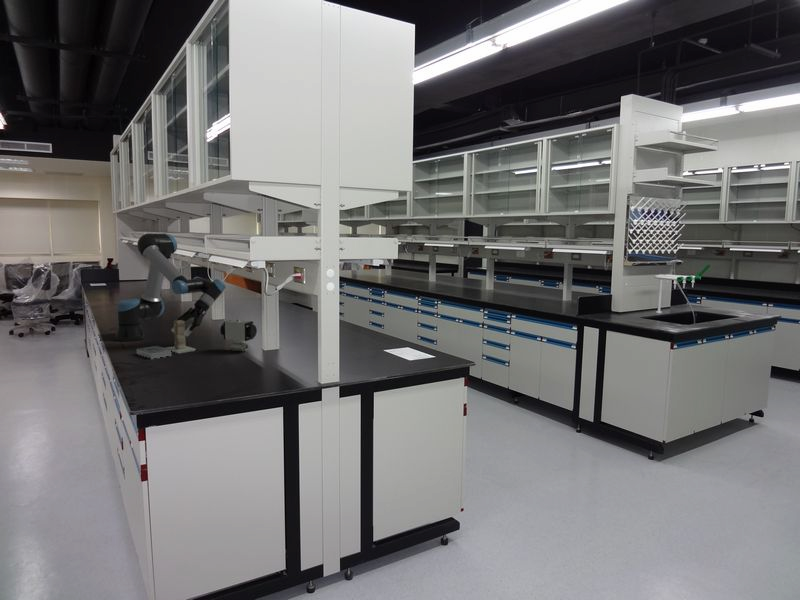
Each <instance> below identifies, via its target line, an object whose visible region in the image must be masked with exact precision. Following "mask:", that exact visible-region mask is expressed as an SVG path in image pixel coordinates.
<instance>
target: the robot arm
mask: <svg viewBox="0 0 800 600" xmlns="http://www.w3.org/2000/svg"><path fill="white" fill-rule="evenodd" d="M136 245H137V250H138V252H139V254H140V255H141V256H142V257H143V258H144V259H146V260H148V261H150V262H149V263H150V264H149V269H148V272H147V273H148V274H147V278H146V283H145V288H144V293H142V294H141V295H140V299H139V298H128V299H127V298H126V299H123V300H120V301H119V302H118V303H117V307H116V309H117V321H118V322H117V323H118V325H117V326H118V327H117V331H116V334H115V340H116V341H117V342H133V341H134V340H135V341H140V339H141V340H144V339H145V333H144V330H143V328H142V325H141V321H142V320H148V319H149V320H150V319H156V318H159V317H160V316H162V315H163V313H164V311H165V303H164V301H163V299H162V297H161V291H162V286H163V283H164V282H163V281H164V277H165V278H166V279H167V280H168V281H169V283H170V284H171V289H172V292H173V293H174V294H175V295H186V294H195V293H202V294H201V295H200V296H199V298H198V299H197V300H196V301H195V303H194V304H193V305H194V307H193V308H192V307H190V308H189V309H188V310H187V311H185V312H184V313H183V314H181V315H180V316H179V317H178V318H177V320H183V321H185V322H187V321H189V320H191V319H192V318H193V320H192V322H191V323H190V324H189V325H188V326H187V328H185V332H184V333H183V334H184V335H185V337H186V338H187V337H188V338H189V336H190V334H191V333H192V332H193V330H194V329H195V328H197V327H200V326H201V324H202V321H203V319H204V317H205V315H206V314H207V311H208V310H209V309H210V308H211V307H212V306H213V305H214V303H215V302H216V300H217V299H218V298H219V297H220V296H221V295H222V294H223V292H224V291H225V289H226V284H225V283H224V282H223V281H222V280H220V279H214V280H213V281H211V280H208V279H206V278H203V277H200V276H194V277H193V278H192V279H187V277H185V276H184V275H183V274H182V273H181V271H180V270H178V269H177V268H176V267H175V265H174V264H173V263H172V262H171V261H170V260H169V259H171V256H172V254H174V253H176V252H177V250H178V242H177V240H176V238H175V236H173V235H172V234H169V233H145V234H143V235H141V236H140V237H139V238H138V241H137V243H136ZM177 320H176V321H177ZM170 332H172V333H173V334H174V326H173V327H172V328H171V329H170ZM135 341H134V342H135Z"/></svg>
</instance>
